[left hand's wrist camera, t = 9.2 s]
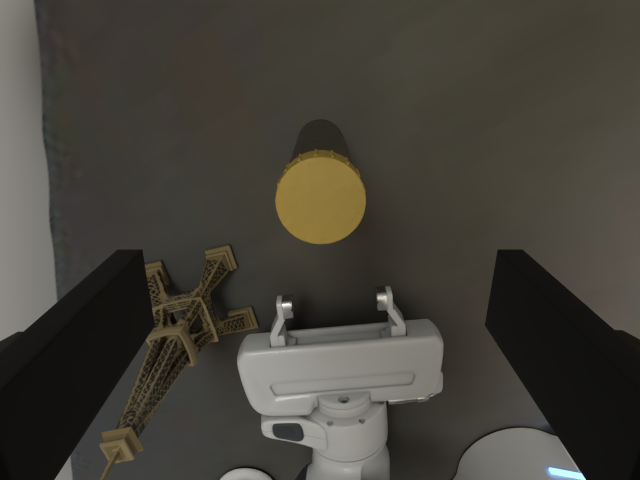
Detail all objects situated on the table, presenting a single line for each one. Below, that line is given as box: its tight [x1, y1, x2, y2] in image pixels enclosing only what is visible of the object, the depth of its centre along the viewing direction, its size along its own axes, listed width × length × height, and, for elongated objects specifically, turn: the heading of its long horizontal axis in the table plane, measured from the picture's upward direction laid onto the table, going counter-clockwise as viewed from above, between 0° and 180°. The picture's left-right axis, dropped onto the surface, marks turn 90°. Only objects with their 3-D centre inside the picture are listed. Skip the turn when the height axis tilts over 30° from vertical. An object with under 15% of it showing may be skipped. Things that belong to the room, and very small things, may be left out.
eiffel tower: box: [100, 244, 259, 480], centre depth 36 cm, size 11×11×25 cm
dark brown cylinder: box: [290, 119, 351, 163], centre depth 32 cm, size 4×4×20 cm
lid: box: [275, 149, 366, 244], centre depth 23 cm, size 5×5×2 cm
